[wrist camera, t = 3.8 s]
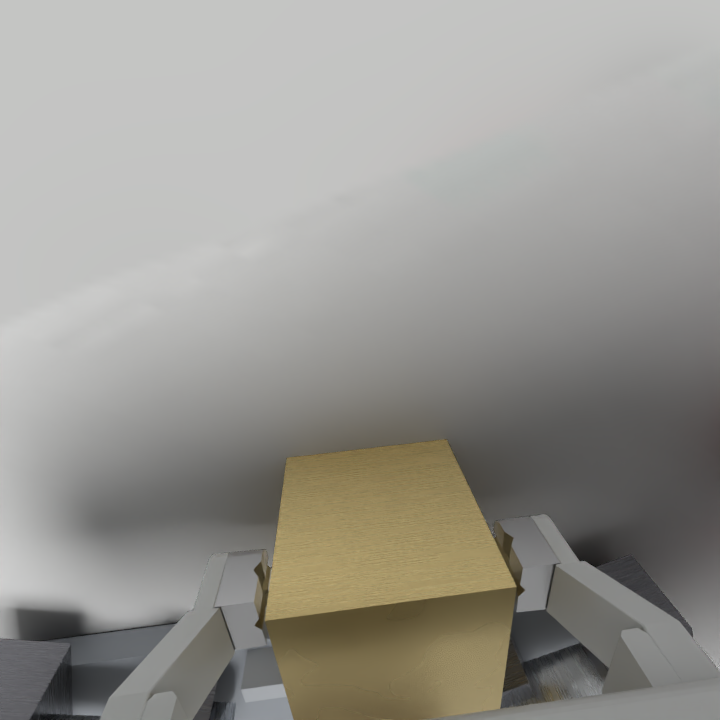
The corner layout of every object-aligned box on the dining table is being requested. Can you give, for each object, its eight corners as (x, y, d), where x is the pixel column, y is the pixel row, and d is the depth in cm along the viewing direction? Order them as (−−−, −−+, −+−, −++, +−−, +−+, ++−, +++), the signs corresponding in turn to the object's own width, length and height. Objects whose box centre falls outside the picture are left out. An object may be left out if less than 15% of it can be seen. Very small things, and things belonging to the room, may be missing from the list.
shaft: (630, 554, 14) (761, 712, 10) (646, 627, 16) (760, 785, 12) (414, 633, 14) (450, 809, 10) (455, 693, 16) (498, 861, 12)
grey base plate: (618, 565, 15) (662, 622, 13) (575, 712, 20) (603, 770, 18) (17, 644, 14) (-32, 718, 12) (118, 779, 19) (93, 850, 17)
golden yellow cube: (445, 437, 12) (516, 586, 8) (444, 548, 14) (498, 716, 10) (287, 456, 12) (264, 620, 8) (308, 566, 14) (301, 746, 10)
